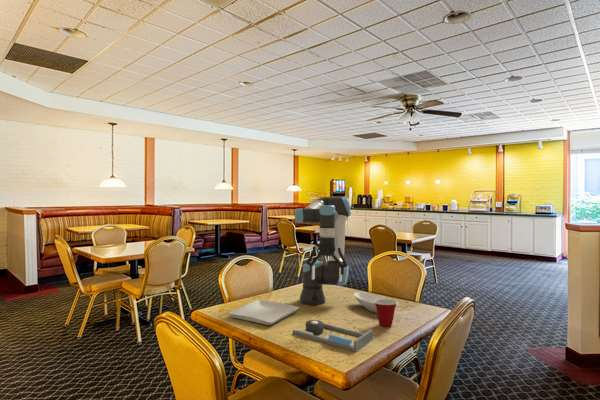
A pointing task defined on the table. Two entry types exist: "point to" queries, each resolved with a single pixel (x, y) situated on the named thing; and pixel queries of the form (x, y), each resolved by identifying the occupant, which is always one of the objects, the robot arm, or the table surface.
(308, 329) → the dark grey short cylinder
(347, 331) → the gray u-shaped frame
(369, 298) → the bowl
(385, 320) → the plastic cup
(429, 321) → the table surface
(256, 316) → the square plate
